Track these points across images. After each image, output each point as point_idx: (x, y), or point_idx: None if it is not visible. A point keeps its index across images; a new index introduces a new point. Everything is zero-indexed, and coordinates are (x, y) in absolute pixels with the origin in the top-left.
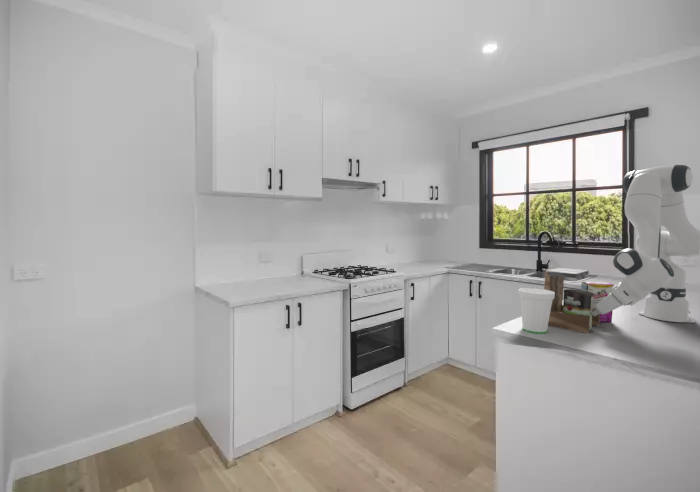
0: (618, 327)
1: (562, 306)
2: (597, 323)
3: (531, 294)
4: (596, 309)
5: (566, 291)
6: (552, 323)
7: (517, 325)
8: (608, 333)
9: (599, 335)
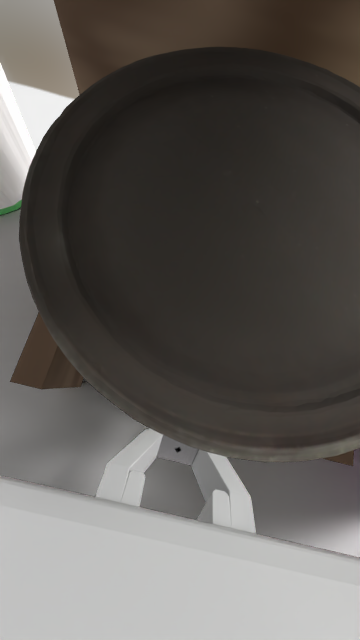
0: (316, 543)
1: None
2: None
3: None
4: (128, 447)
5: (143, 60)
6: None
7: (45, 122)
8: None
9: (50, 436)
